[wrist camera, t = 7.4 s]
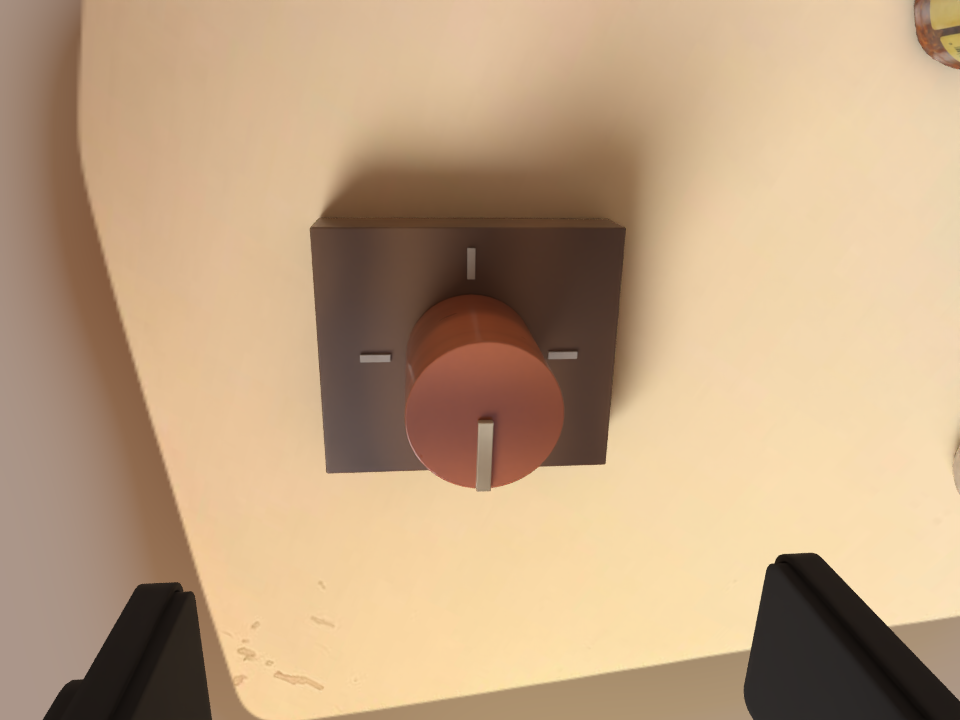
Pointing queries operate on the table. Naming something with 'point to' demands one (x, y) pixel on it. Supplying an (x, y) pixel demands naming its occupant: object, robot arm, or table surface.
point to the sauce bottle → (939, 29)
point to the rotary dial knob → (479, 394)
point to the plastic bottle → (957, 469)
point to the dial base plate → (445, 274)
